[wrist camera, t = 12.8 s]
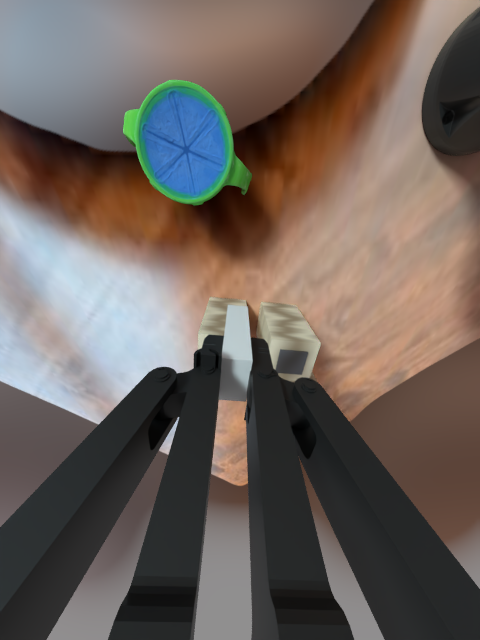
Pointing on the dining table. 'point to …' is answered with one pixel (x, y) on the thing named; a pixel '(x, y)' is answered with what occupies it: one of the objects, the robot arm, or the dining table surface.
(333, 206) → the dining table surface
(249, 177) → the snack cup
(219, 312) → the marked block 2
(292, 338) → the marked block 1
